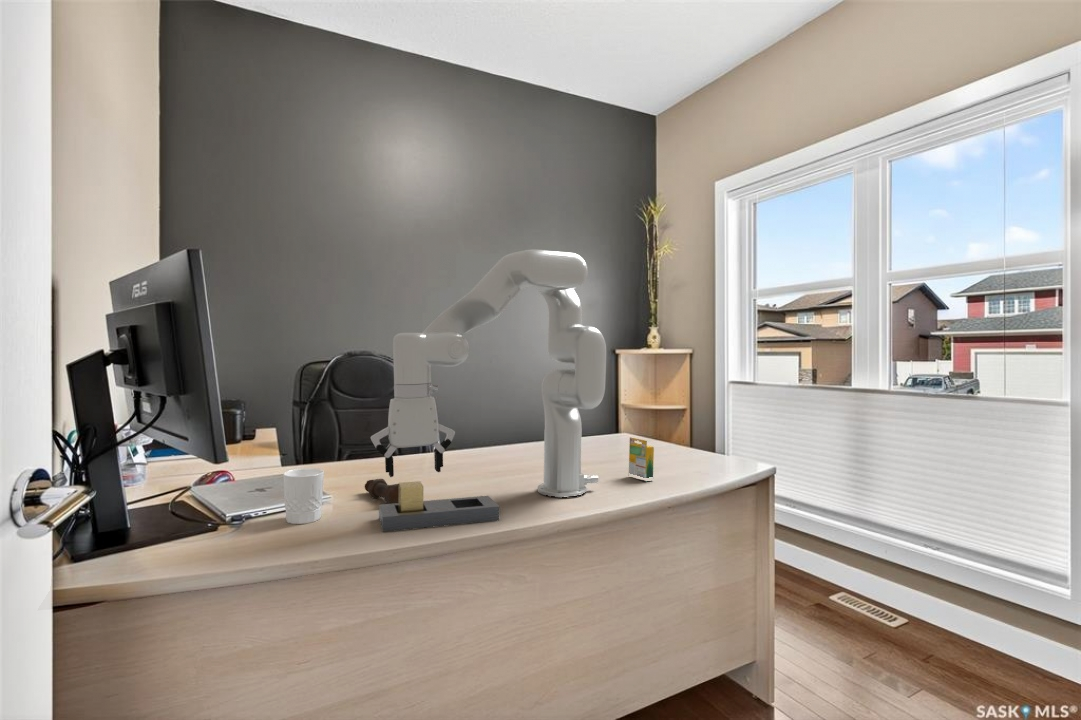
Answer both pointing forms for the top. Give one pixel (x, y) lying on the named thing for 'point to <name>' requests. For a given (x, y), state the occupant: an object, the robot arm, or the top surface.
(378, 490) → the bolt
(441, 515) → the grey peg board
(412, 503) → the gold block
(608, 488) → the top surface
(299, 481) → the white cup
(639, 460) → the crayon box
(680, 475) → the top surface
